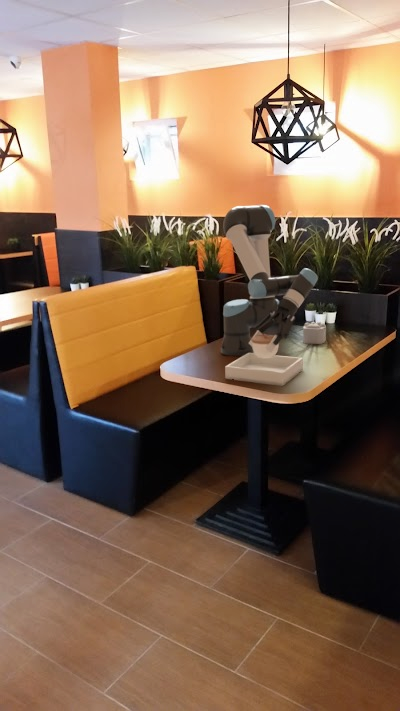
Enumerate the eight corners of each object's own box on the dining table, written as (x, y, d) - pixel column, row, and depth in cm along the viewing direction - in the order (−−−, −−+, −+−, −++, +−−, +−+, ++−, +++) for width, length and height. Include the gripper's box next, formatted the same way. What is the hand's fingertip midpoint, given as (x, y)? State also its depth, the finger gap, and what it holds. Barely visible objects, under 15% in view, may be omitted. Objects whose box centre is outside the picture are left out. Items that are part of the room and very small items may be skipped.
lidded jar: (272, 361, 227) (271, 337, 224) (247, 359, 232) (246, 335, 230) (283, 354, 235) (283, 331, 233) (259, 352, 241) (258, 330, 239)
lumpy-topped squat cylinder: (301, 343, 281) (301, 325, 279) (306, 336, 293) (306, 319, 291) (323, 344, 278) (323, 326, 275) (327, 337, 289) (328, 320, 287)
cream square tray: (225, 378, 233) (225, 366, 232) (248, 363, 251) (248, 352, 250) (282, 385, 222) (282, 373, 220) (302, 369, 240) (302, 357, 239)
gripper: (315, 313, 227) (283, 359, 224) (277, 305, 247) (248, 347, 243) (304, 301, 223) (272, 348, 220) (267, 294, 243) (236, 337, 239)
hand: (259, 348), depth 231 cm, fingers closed on lidded jar, 11 cm apart
